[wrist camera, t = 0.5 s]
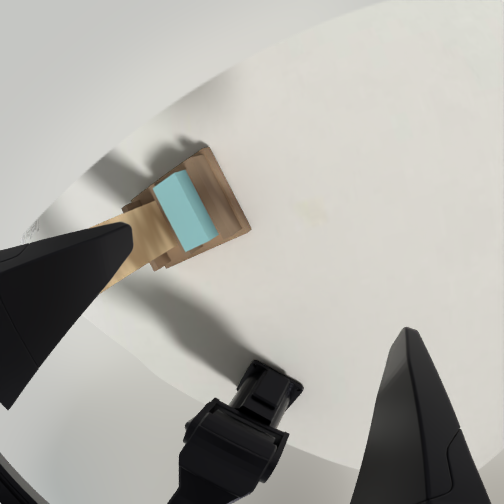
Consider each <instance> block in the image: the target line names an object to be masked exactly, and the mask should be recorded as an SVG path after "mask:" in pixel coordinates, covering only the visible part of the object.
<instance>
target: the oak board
mask: <svg viewBox="0 0 504 504" xmlns="http://www.w3.org/2000/svg"><path fill="white" fill-rule="evenodd" d="M115 222H124V223H127V224H129V225H131V227H132V233H133V244H134V246H133V250H132V252H131V253H130V255H129V256H128V257H127V259H126V260H125V261H124V263H123V264H122V265H121V267H120V268H119V269H118V271H117V272H116V274H115V275H114V276H113V278H112V279H111V280H110V282H109V283H108V284H107V285H106V287H105V288H104V289H103V290H102V291H101V292H103V291H105V290H106V289H108V288H109V287H111V286H112V285H114V284H115V283H117V282H119V281H120V280H122V279H123V278H125V277H126V276H128V275H130V274H131V273H133V272H134V271H136V270H137V269H139V268H141V267H142V266H144V265H145V264H147V263H149V262H150V261H152V260H154V259H155V258H157V257H158V256H160V255H162V254H163V253H165V252H167V251H168V250H170V249H172V248H173V247H175V246H176V245H178V244H177V242H176V240H175V238H174V236H173V234H172V232H171V230H170V229H169V227H168V225H167V223H166V221H165V219H164V217H163V215H162V213H161V211H160V209H159V207H158V205H157V203H156V201H153V202H150V203H148V204H145V205H143V206H140V207H138V208H136V209H133V210H131V211H128V212H126V213H123V214H121V215H119V216H116V217H114V218H111V219H109V220H107V221H104V222H102V223H100V224H98V225H95V226H93V227H97V226H102V225H106V224H111V223H115ZM93 227H91V228H93ZM88 229H89V228H88ZM101 292H100V293H101ZM100 293H99V294H100Z"/></svg>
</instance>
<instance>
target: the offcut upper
mask: <svg viewBox="0 0 504 504" xmlns="http://www.w3.org/2000/svg"><path fill="white" fill-rule="evenodd" d="M153 190H154V192H155V194H156V196H157V198H158V200H159V202H160V204H161V206H162V208H163V210H164V212H165V214H166V216H167V218H168V220H169V222H170V224H171V226H172V228H173V229H174V231H175V233H176V235H177V237H178V239H179V241H180V243H181V245H182V246H183V248H184V250H185V252H187V251H189V250H191V249H193V248H195V247H197V246H199V245H201V244H204V243H206V242H208V241H210V240H211V239H213V238H214V237H216V236H217V235H219V233H218V232H217V230H216V228H215V226H214V224H213V222H212V220H211V218H210V216H209V214H208V212H207V211H206V209H205V207H204V205H203V203H202V201H201V199H200V197H199V195H198V193H197V191H196V189H195V187H194V185H193V183H192V181H191V180H190V178H189V176H188V174H187V172H186V170H182V171H179V172H175V173H173V174H172V175H170V176H169V177H168V178H166V179H165V180H163V181H162V182H161V183H159V184H158V185H157V186H155V187H154V188H153Z"/></svg>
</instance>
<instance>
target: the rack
mask: <svg viewBox="0 0 504 504" xmlns="http://www.w3.org/2000/svg"><path fill="white" fill-rule="evenodd" d="M186 169H187V171H188V173H189V174H190V176H191V178H192V180H193V182H194V184H195V186H196V188H197V190H198V192H199V194H200V196H201V198H202V200H203V202H204V204H205V206H206V207H207V209H208V211H209V213H210V215H211V217H212V219H213V221H214V223H215V225H216V227H217V229H218V230H219V232H220V234H219V235H217V236H216V237H214V238H213V239H211V240H210V241H208V242H206V243H204V244H201V245H199V246H197V247H195V248H193V249H191V250H189V251H187V252H185V250H184V248H183V246H182V245H181V243H180V241H179V239H178V237H177V235H176V233H175V231H174V229H173V228H172V226H171V224H170V222H169V220H168V218H167V216H166V214H165V212H164V210H163V208H162V206H161V204H160V202H159V200H158V198H157V196H156V194H155V192H154V190H153V188H154V187H155V186H157V185H158V184H159V183H161V182H162V181H163V180H165V179H166V178H168V177H169V176H170V175H172V174H173V173H175V172H179V171H182V170H186ZM153 201H156V203H157V205H158V207H159V209H160V211H161V213H162V215H163V217H164V219H165V221H166V223H167V225H168V227H169V229H170V230H171V232H172V234H173V236H174V238H175V240H176V242H177V244H178V245H176V246H175V247H173V248H172V249H170V250H168V251H167V252H165V253H163V254H162V255H160V256H158V257H157V258H155V259H154V260H152V261H150V262H149V263H150V265H151V266H152V268H153V270H154V271H156V270H158V269H160V268H162V267H163V266H165V267H166V269H167V268H169V267H171V266H173V265H176V264H178V263H180V262H182V261H185V260H187V259H189V258H191V257H194V256H196V255H198V254H200V253H203V252H205V251H207V250H209V249H212V248H214V247H216V246H218V245H221V244H223V243H225V242H227V241H230V240H232V239H234V238H237V237H239V236H241V235H243V234H246V233H248V232H249V231H250V230H251V227H250V225H249V223H248V221H247V219H246V217H245V215H244V213H243V211H242V209H241V207H240V205H239V204H238V202H237V200H236V198H235V196H234V194H233V192H232V190H231V188H230V186H229V184H228V182H227V180H226V178H225V176H224V174H223V173H222V171H221V169H220V167H219V165H218V163H217V161H216V159H215V157H214V155H213V153H212V151H211V150H210V148H209V147H207V148H203V149H201V150H200V151H198V152H197V153H195V154H194V155H192V156H191V157H189V158H188V159H187V160H185V161H184V162H182V163H181V164H179V165H178V166H177V167H175V168H174V169H172V170H171V171H170V172H168V173H167V174H165V175H164V176H163V177H161V178H160V179H159V180H157V181H156V182H155V183H153V184H152V185H151V186H149V187H148V188H147V189H145V190H144V191H143V192H141V193H140V194H139V195H137V196H136V197H135V198H134V199H132V200H131V202H132V203H130V204H127V205H125V206H124V207H123V208H121V209H122V211H123V213H126V212H128V211H131V210H133V209H136V208H138V207H140V206H143V205H145V204H148V203H150V202H153Z"/></svg>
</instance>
